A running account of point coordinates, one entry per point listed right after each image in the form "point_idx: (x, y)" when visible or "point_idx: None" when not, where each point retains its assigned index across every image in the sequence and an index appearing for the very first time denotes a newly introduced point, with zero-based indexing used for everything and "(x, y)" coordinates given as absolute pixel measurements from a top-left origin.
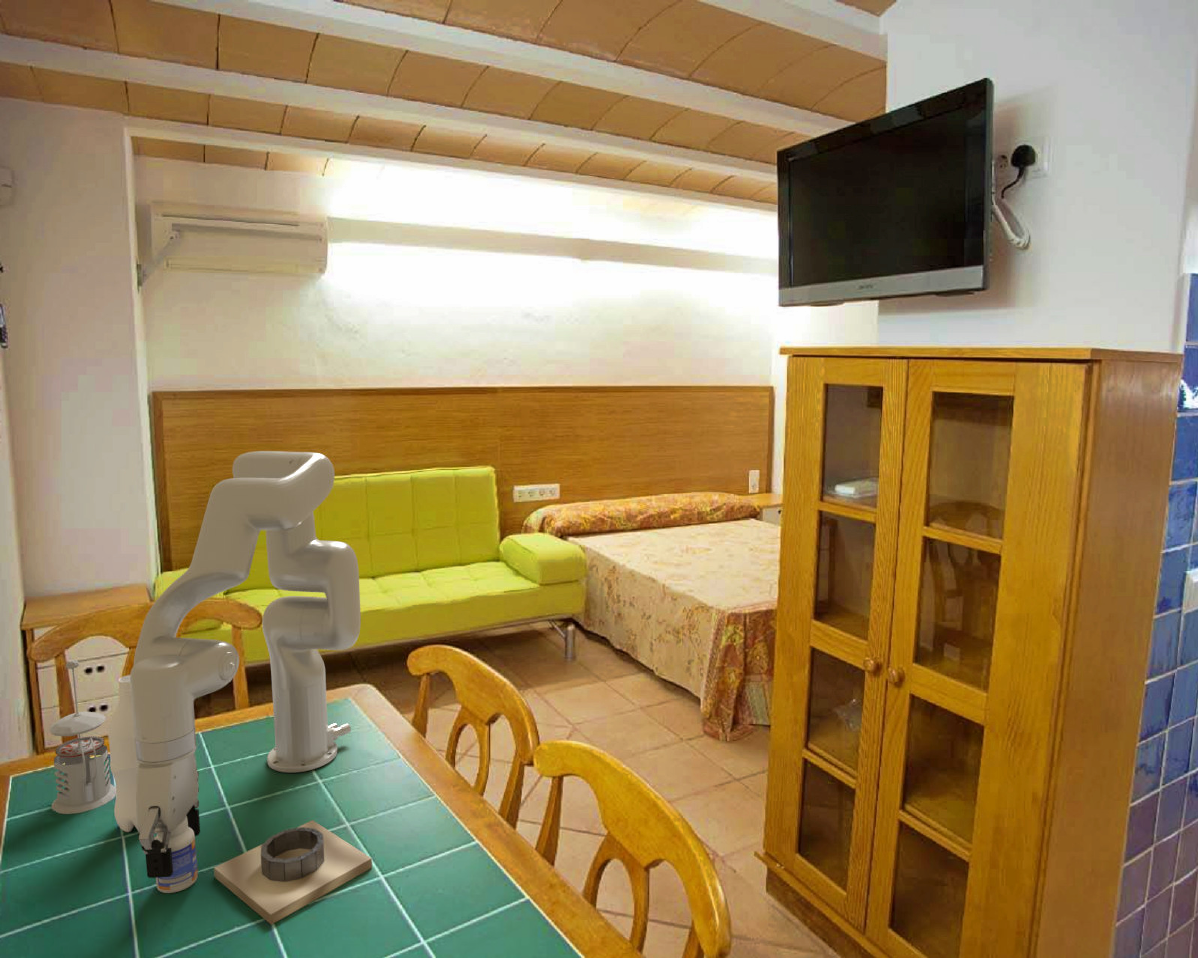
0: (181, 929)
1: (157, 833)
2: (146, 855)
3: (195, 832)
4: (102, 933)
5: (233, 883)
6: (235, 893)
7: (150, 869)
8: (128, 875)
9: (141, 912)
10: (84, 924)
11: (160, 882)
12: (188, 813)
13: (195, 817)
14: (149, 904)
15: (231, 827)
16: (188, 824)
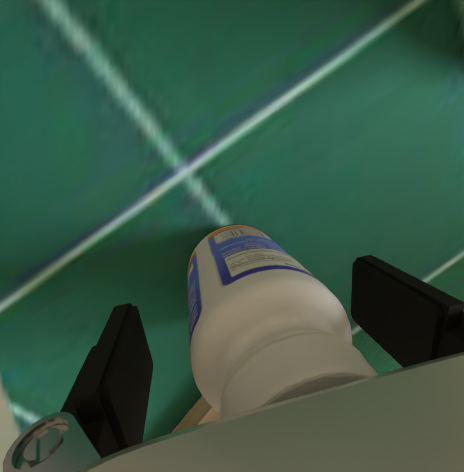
0: (71, 371)
1: (238, 372)
2: (84, 378)
3: (358, 318)
4: (5, 200)
5: (203, 418)
6: (197, 403)
7: (87, 357)
8: (261, 116)
9: (111, 251)
10: (27, 118)
11: (190, 267)
12: (425, 360)
13: (403, 366)
14: (144, 251)
15: (430, 268)
16: (383, 320)
